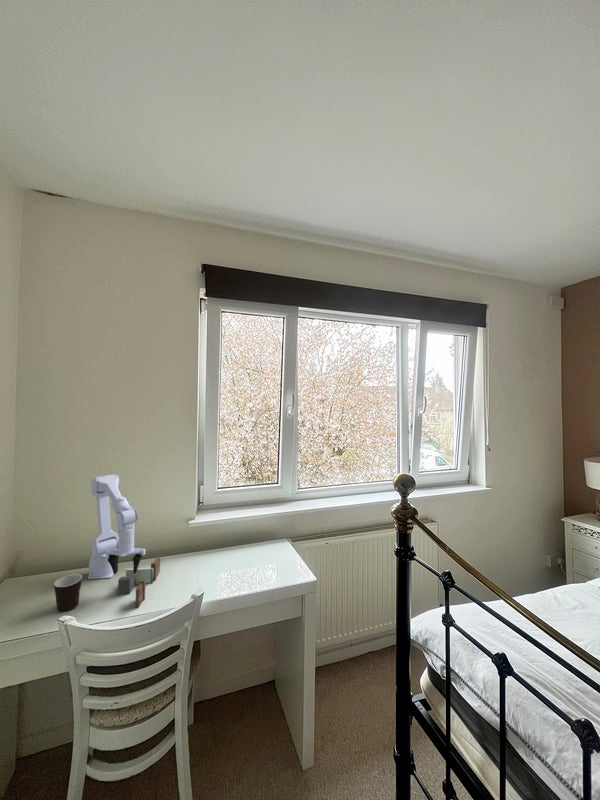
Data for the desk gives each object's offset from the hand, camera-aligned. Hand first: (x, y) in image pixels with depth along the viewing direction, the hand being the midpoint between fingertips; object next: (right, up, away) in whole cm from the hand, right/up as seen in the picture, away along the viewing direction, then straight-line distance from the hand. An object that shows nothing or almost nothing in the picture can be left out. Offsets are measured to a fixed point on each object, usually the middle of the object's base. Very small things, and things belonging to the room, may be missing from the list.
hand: (125, 572), depth 130 cm
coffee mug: (-17, -8, -8) cm, 20 cm away
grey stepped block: (0, -8, +2) cm, 8 cm away
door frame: (+8, -8, +3) cm, 12 cm away
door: (+3, -8, +6) cm, 11 cm away
